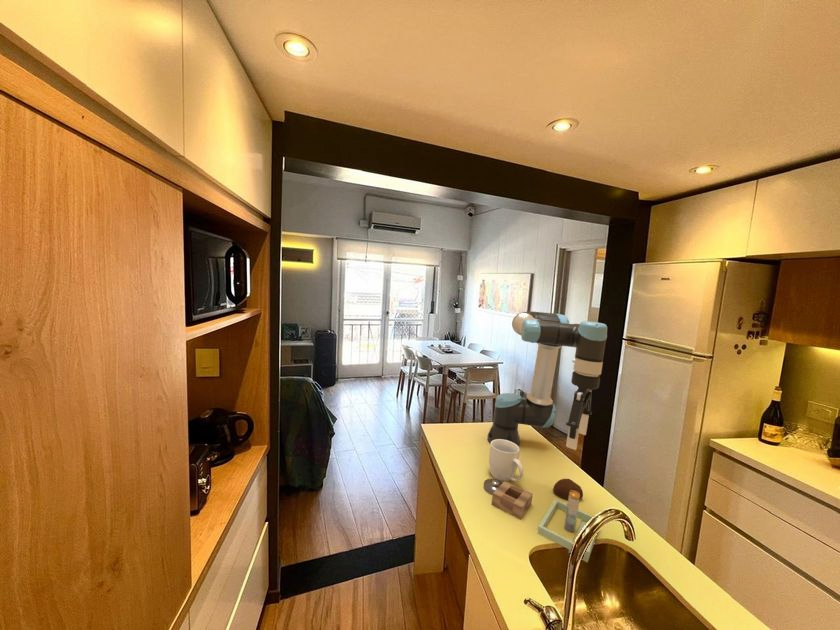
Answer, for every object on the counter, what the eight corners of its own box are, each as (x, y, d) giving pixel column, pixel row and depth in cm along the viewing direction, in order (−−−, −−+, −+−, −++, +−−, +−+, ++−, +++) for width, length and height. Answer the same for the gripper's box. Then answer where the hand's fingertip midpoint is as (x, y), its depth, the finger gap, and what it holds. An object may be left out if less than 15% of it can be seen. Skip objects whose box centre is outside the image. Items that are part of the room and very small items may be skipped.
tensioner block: (503, 494, 120) (504, 480, 119) (530, 507, 114) (532, 493, 113) (491, 507, 112) (492, 493, 111) (520, 522, 106) (522, 507, 105)
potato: (586, 506, 118) (589, 487, 117) (557, 503, 118) (559, 484, 117) (577, 493, 125) (580, 476, 124) (549, 491, 125) (552, 473, 124)
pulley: (489, 482, 126) (490, 473, 126) (509, 491, 122) (510, 482, 121) (479, 491, 120) (480, 481, 120) (500, 501, 115) (501, 492, 115)
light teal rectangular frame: (554, 507, 115) (555, 498, 115) (599, 528, 107) (600, 519, 106) (536, 535, 101) (538, 526, 100) (587, 562, 92) (589, 552, 92)
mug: (529, 487, 126) (534, 454, 124) (509, 495, 120) (514, 460, 118) (500, 467, 138) (504, 436, 137) (480, 473, 132) (484, 441, 131)
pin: (565, 525, 106) (570, 488, 105) (575, 530, 104) (581, 493, 103) (562, 530, 103) (568, 493, 102) (573, 535, 102) (578, 497, 100)
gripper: (581, 364, 113) (572, 424, 115) (562, 377, 93) (552, 449, 95) (606, 369, 108) (597, 432, 110) (592, 384, 88) (580, 460, 91)
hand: (576, 440), depth 103 cm, fingers open, 13 cm apart
